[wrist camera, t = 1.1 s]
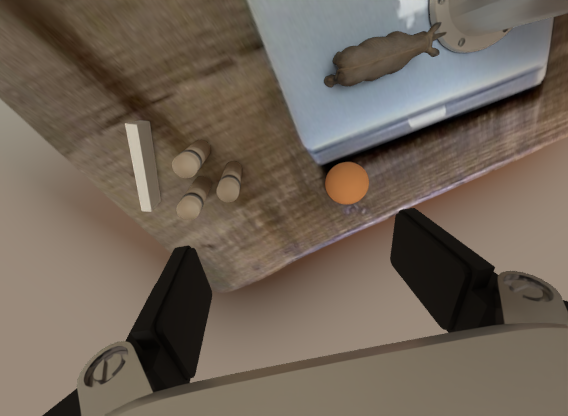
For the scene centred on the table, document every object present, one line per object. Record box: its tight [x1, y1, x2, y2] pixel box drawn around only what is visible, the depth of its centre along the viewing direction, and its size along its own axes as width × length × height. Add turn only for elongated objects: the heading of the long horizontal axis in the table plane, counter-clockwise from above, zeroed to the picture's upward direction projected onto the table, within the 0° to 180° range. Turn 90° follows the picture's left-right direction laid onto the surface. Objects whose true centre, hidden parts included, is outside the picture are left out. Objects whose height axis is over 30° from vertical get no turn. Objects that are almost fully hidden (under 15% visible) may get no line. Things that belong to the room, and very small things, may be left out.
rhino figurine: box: [324, 22, 447, 87], centre depth 26 cm, size 4×14×6 cm, turn 107°
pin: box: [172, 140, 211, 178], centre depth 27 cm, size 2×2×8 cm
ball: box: [325, 162, 369, 204], centre depth 32 cm, size 6×6×6 cm
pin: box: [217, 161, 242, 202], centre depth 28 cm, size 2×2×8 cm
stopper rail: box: [125, 120, 161, 212], centre depth 29 cm, size 1×11×4 cm, turn 174°
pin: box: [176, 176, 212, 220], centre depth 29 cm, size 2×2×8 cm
